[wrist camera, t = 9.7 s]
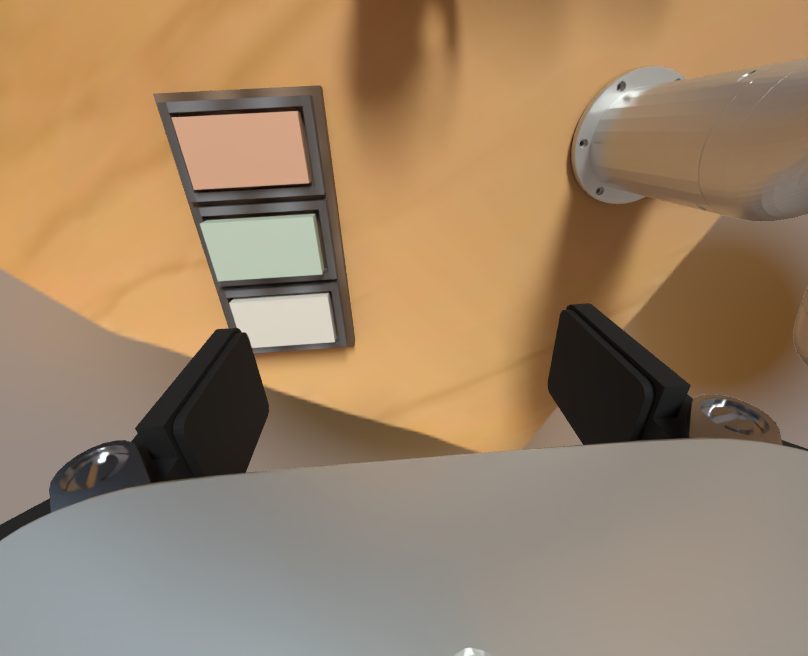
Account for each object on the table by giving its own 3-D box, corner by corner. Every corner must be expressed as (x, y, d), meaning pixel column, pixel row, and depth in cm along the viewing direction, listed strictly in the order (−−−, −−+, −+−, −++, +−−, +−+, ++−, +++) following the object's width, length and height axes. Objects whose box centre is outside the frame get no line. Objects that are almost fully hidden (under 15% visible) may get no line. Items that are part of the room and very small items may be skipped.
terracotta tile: (300, 111, 33) (297, 111, 32) (311, 181, 36) (309, 183, 35) (180, 117, 33) (171, 117, 31) (201, 187, 36) (193, 189, 34)
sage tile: (315, 213, 37) (312, 216, 35) (324, 269, 40) (322, 274, 38) (206, 220, 36) (199, 223, 35) (223, 275, 39) (217, 281, 38)
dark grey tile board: (322, 87, 34) (317, 83, 32) (355, 339, 48) (353, 351, 45) (161, 95, 34) (143, 92, 31) (241, 347, 47) (232, 360, 45)
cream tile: (329, 291, 42) (327, 296, 41) (336, 335, 45) (335, 342, 43) (234, 297, 42) (229, 303, 40) (247, 341, 44) (243, 348, 43)
